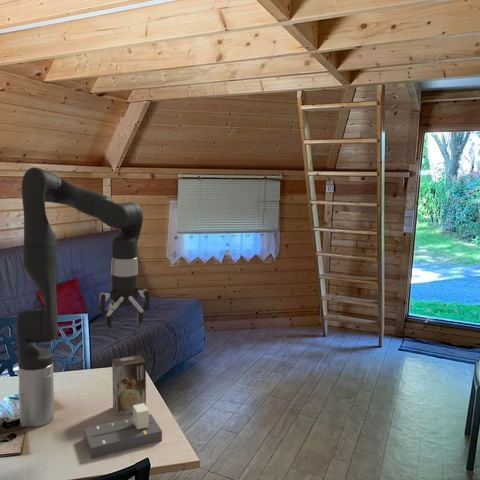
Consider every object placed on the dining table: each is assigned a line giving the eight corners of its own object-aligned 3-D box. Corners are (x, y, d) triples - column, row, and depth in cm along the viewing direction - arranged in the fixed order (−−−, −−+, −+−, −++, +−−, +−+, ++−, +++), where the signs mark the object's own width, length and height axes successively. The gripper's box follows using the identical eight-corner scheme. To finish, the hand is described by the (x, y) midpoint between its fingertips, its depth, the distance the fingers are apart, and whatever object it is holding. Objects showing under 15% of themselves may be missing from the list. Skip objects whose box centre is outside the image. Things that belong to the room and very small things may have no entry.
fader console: (91, 458, 120) (91, 447, 120) (84, 438, 129) (84, 428, 129) (161, 440, 129) (162, 430, 129) (150, 423, 138) (150, 413, 138)
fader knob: (137, 429, 128) (137, 412, 128) (132, 421, 132) (132, 405, 132) (148, 426, 130) (148, 410, 129) (143, 419, 134) (144, 403, 133)
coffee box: (140, 401, 151) (141, 354, 149) (146, 410, 145) (146, 361, 143) (112, 407, 147) (111, 358, 144) (116, 416, 141) (116, 366, 139)
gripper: (101, 277, 128) (101, 333, 131) (152, 273, 134) (151, 327, 137) (96, 270, 134) (97, 323, 137) (145, 267, 140) (145, 318, 144)
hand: (124, 325), depth 137 cm, fingers open, 8 cm apart
